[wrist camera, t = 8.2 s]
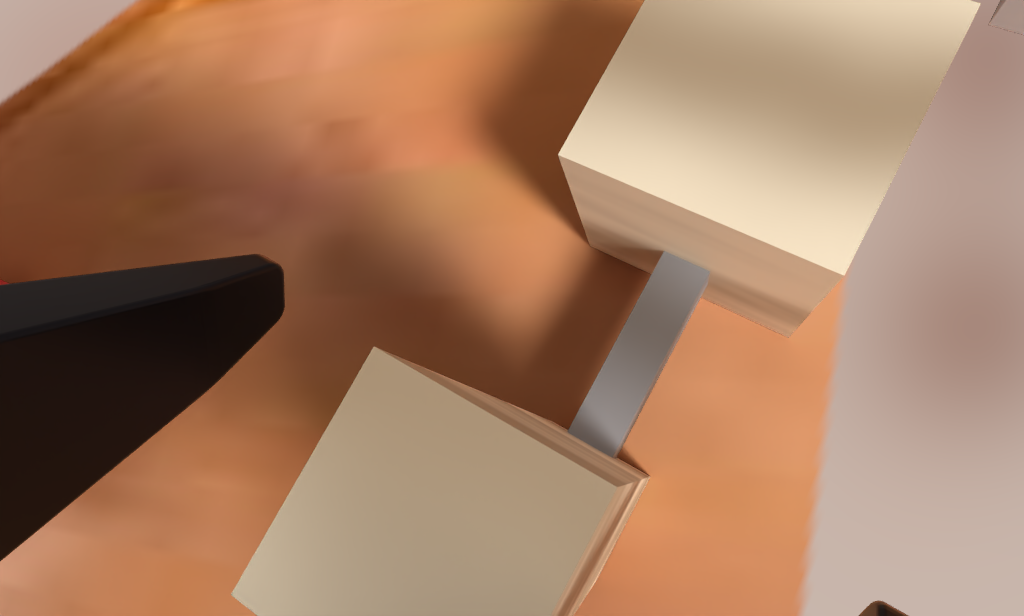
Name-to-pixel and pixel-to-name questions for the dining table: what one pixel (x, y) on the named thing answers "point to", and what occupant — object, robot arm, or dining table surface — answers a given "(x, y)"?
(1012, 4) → the stall
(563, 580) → the tethered block
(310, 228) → the dining table surface
